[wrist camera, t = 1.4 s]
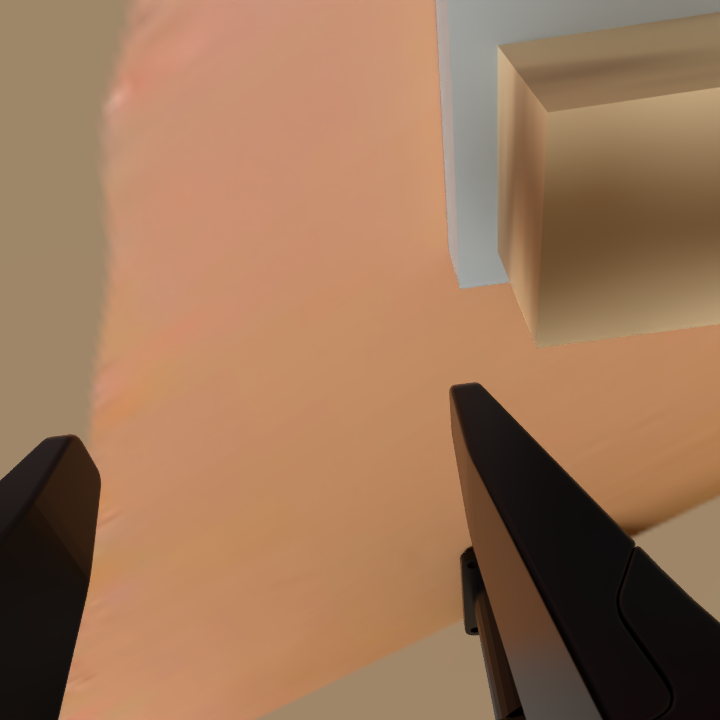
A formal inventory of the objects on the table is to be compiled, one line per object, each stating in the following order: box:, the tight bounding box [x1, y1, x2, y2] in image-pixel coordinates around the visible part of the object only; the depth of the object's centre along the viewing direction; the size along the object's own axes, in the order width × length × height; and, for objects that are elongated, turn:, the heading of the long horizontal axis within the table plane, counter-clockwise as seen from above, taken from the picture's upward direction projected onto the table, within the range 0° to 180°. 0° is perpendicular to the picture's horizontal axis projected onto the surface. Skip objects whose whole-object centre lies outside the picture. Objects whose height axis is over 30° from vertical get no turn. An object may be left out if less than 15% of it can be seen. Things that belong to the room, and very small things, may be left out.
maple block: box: [498, 12, 720, 348], centre depth 14 cm, size 5×5×4 cm
